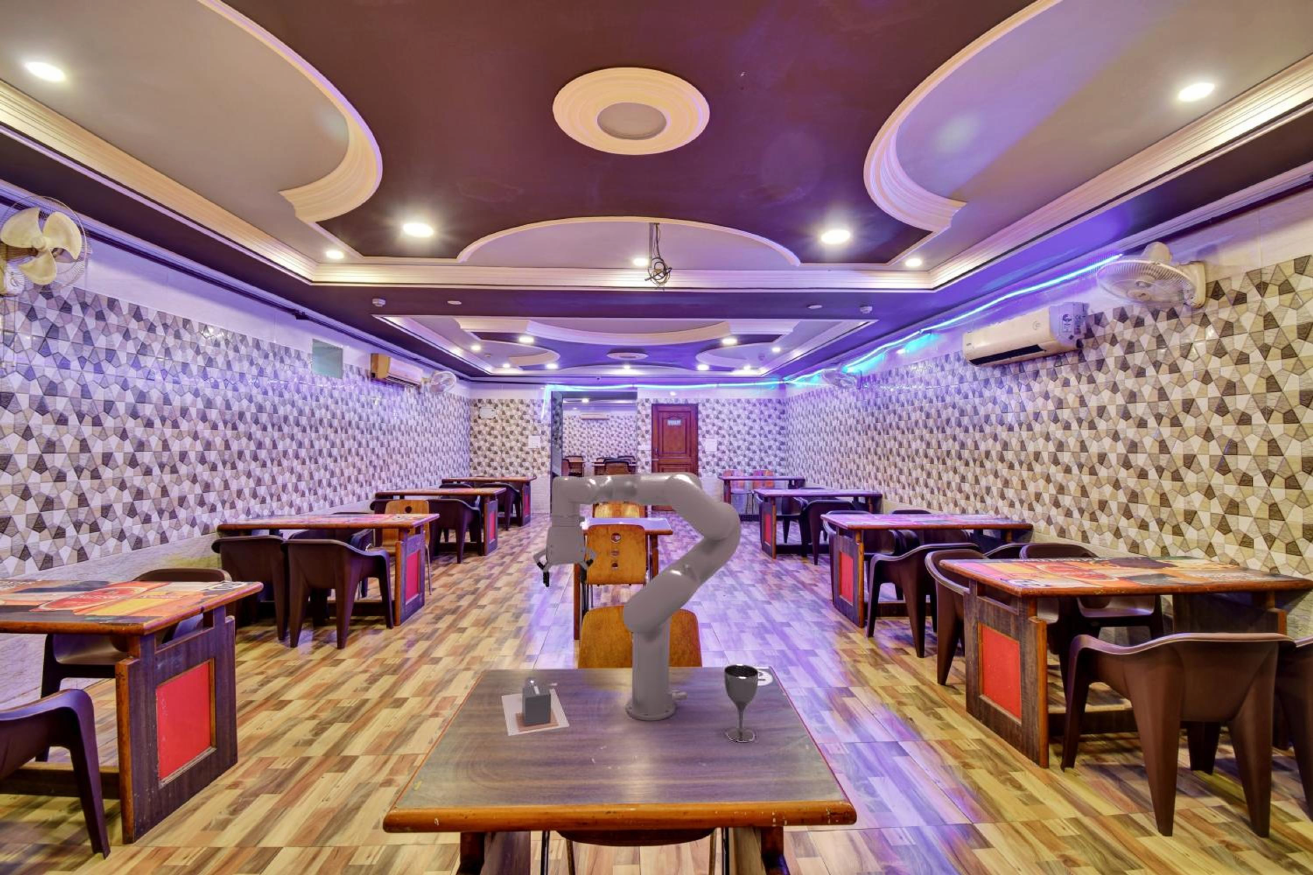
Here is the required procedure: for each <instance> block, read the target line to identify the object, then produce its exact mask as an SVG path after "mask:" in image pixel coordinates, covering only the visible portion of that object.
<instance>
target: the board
mask: <svg viewBox="0 0 1313 875" xmlns="http://www.w3.org/2000/svg"><path fill="white" fill-rule="evenodd" d="M549 690H550V693H551V723H548V724H542V725H536V726H529V727H525V725H524V721H523V717H522V692H521V693H513V694H512V693H511V694H506V695H505V694H504V695H501V701H502V707H503V712H504V714H503V715H504V719H505V724H506V730H507V736H508V737H511V736H517V735H518V736H519V735H523V734H525V735H526V734H530V733H537V732H543V731H548V730H549V731H550V730H556V729H562V728H563V729H564V728H568V727H570V724H569V721H568V719H567V717H566V715H565V712H564V710H563V707H562V705H561V702H560V699H559V697H558V695H557V692H556V690H555V688H549Z"/></svg>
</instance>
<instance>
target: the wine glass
mask: <svg viewBox="0 0 1313 875" xmlns="http://www.w3.org/2000/svg"><path fill="white" fill-rule="evenodd" d="M723 671H724V674H723V677H724V682H723V683H724V688H725V692H726V695H727V697H728V698H729V699H730V701H731V702H732V703H733V704H734V705H735V707H736V710H737V712H738V721H739V723H738V727H739V728H736V727H731V728H732V729H731V728H728V729H727V730H726V732H727V731H728V732H727V734H728V736H729V737H730V738H731V739H733V741H732V742H734V741H749V739H752V738H753V733H752V732H751V731H752V730H751V729H749V728H746V727H743V720H744V712H745V710H746V707H747V706H748V705H749V704H751V702H752V701H753V700H754V699H755V698H756V694H757V691H758V684H759V671H758V669H757V668H756V667H754V666H752V665H747V664H740V663H738V664H730V665H727V666H725V668H724V669H723ZM745 728H746V729H745ZM748 729H749V730H748ZM750 730H751V731H750Z"/></svg>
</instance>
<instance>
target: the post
mask: <svg viewBox="0 0 1313 875" xmlns="http://www.w3.org/2000/svg"><path fill="white" fill-rule="evenodd" d="M524 681H525V682H524V687H531V686H538V678H537V677H533V676H532V677H531V676H530V677H526V678H525V680H524Z"/></svg>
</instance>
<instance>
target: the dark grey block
mask: <svg viewBox="0 0 1313 875" xmlns="http://www.w3.org/2000/svg"><path fill="white" fill-rule="evenodd" d="M549 689H550V688H549V685H548V684H539V685H538V684H537V686H531V687H525V686H523V687H522V691H521V693H522V717H523V721H524V725H525V727H529V726H536V725H542V724H548V723H551V693H550V690H549Z"/></svg>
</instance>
